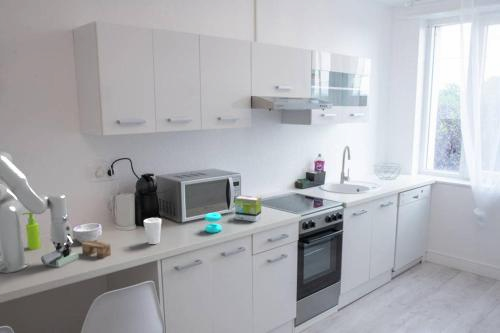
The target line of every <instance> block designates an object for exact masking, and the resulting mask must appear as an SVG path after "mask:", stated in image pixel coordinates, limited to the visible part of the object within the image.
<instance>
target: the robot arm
mask: <svg viewBox="0 0 500 333" xmlns="http://www.w3.org/2000/svg"><path fill="white" fill-rule="evenodd" d="M13 162H14V160H13V156H12V155H11V154H10V153H8V152H6V151H4V150H3V151H1V150H0V180H1V181H2V182H3V183H4V184H5V185H4V184H2V183H0V256H1V257H0V258H1V260H0V273H3V274H5V273H6V274H8V273H15V272H20V271H23V270H24V269H25V270H26V268H28V267H29V266H30V261H29V260H27V259H26V255H25V246H24V245H25V244H24V238H23V229H22V224H21V219H20V217H21V216H22V214H23V213H24V211H25V209H26V210H27V212H31V213H33V215H41V214H44V213H45V212H46V211H47V210H48V209H49V213H50V242H51V243H52V244H53V245H54V248H55V250H58V249H60V248H63V247H64V249H63V256H64V257H67V256H69V255H70V254H71V253H70V252H69V248H70V247H71V246H72V245H73V244H74V237H73V228H72V225H71V223H70V221H69V213H68V203H67V196H66V195H65V194H63V193H55V194H37V193H35V191H34V190H33V189H32V188H31V186H30V184H29V180H28V177H27V176H26V174H25V173H24V172H22V171H21V169H20V168H18V166H17V165H15V164H14V163H13Z"/></svg>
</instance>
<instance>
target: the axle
mask: <svg viewBox="0 0 500 333" xmlns="http://www.w3.org/2000/svg"><path fill="white" fill-rule="evenodd" d="M63 249H64V247H63V246H62V248H60V249H58V250H56V249H55V250H54V251H51V252H49V253H46V254H43V255H42V256H41V257H40V259H41V260H40V261H41V262H42V263H43V264H44V265H46V263H49V262H51V261H53V260H56V259H58V258H60V257H62V256H63ZM69 252H70V254H72V248H71V246H70V248H69Z"/></svg>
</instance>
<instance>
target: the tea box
mask: <svg viewBox="0 0 500 333" xmlns="http://www.w3.org/2000/svg"><path fill="white" fill-rule="evenodd" d="M234 207H235V208H234V211H235V213H234V214H235V216H234V217H235V220H240V221H248V222H249V221H250V222H255V223H256V222H258V221H259V220H260V219H261V218H262V197H261V196H255V195H246V194H245V195H244V194H240V195H239V196H237V197H235V198H234Z"/></svg>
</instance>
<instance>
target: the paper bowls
mask: <svg viewBox="0 0 500 333" xmlns="http://www.w3.org/2000/svg"><path fill="white" fill-rule="evenodd" d="M102 234H103V229H102V224H100V223H85V224H81V225H78V226H75V227H73V228H72V235H73V239H74V240H77V241H78V242H79V243H80V244H82V243H84V242H86V241H89V240H91V241H97V240H98V239H99V237H100V236H101V235H102Z"/></svg>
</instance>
